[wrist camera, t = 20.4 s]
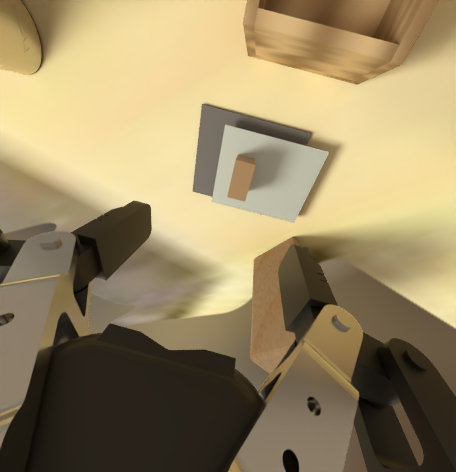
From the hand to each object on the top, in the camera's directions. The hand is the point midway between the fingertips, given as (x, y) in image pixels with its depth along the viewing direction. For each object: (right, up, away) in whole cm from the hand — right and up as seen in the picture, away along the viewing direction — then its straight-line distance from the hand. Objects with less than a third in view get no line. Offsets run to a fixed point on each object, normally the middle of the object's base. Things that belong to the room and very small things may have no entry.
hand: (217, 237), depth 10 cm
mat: (+3, +12, +19) cm, 22 cm away
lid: (+6, +10, +19) cm, 22 cm away
